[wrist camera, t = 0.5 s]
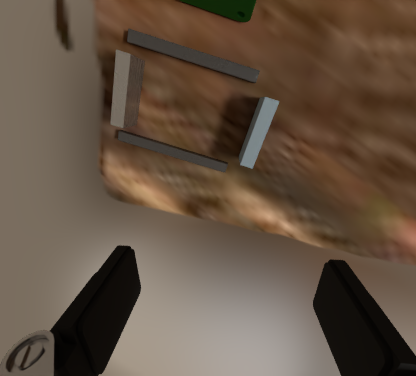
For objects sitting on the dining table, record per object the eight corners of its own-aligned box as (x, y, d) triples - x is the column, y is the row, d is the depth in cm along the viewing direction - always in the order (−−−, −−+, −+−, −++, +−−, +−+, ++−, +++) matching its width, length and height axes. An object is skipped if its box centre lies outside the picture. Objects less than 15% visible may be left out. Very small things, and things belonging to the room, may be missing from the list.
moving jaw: (260, 97, 31) (265, 96, 27) (272, 101, 32) (279, 101, 27) (238, 156, 36) (240, 164, 31) (249, 160, 36) (252, 168, 31)
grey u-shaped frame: (132, 31, 30) (114, 18, 25) (258, 71, 30) (263, 66, 26) (121, 138, 37) (105, 144, 32) (224, 170, 37) (224, 180, 33)
